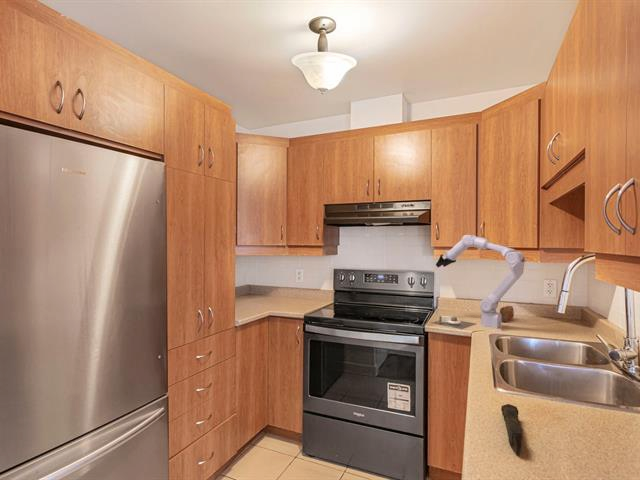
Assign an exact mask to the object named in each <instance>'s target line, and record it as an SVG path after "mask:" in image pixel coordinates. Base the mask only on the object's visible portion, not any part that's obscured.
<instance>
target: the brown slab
mask: <svg viewBox="0 0 640 480" xmlns="http://www.w3.org/2000/svg"><path fill="white" fill-rule="evenodd" d="M498 313H500V314H501V317H502V321H501V323H503V322H504V323H508V322H510V321H513V319H514V317H515V316H514V315H515V313H514V307H513V306H512V305H506V306H502V307H500V309H499V312H498Z"/></svg>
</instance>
